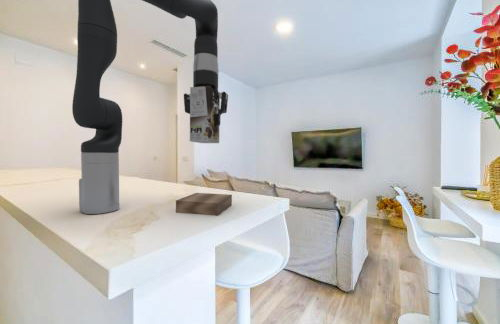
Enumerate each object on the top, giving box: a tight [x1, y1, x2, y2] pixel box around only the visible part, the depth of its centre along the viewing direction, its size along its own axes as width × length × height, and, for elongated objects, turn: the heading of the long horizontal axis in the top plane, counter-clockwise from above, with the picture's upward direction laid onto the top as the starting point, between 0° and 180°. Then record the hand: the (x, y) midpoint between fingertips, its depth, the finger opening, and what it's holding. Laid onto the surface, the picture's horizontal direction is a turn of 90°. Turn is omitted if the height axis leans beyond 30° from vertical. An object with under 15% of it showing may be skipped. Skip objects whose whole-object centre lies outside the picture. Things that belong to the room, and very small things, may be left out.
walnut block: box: [175, 192, 233, 217], centre depth 70 cm, size 13×13×4 cm
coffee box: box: [189, 86, 221, 144], centre depth 68 cm, size 9×6×16 cm
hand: (205, 127), depth 69 cm, fingers closed on coffee box, 6 cm apart
